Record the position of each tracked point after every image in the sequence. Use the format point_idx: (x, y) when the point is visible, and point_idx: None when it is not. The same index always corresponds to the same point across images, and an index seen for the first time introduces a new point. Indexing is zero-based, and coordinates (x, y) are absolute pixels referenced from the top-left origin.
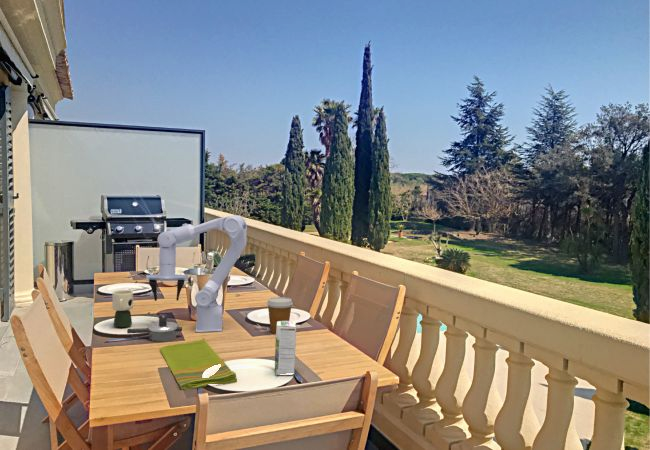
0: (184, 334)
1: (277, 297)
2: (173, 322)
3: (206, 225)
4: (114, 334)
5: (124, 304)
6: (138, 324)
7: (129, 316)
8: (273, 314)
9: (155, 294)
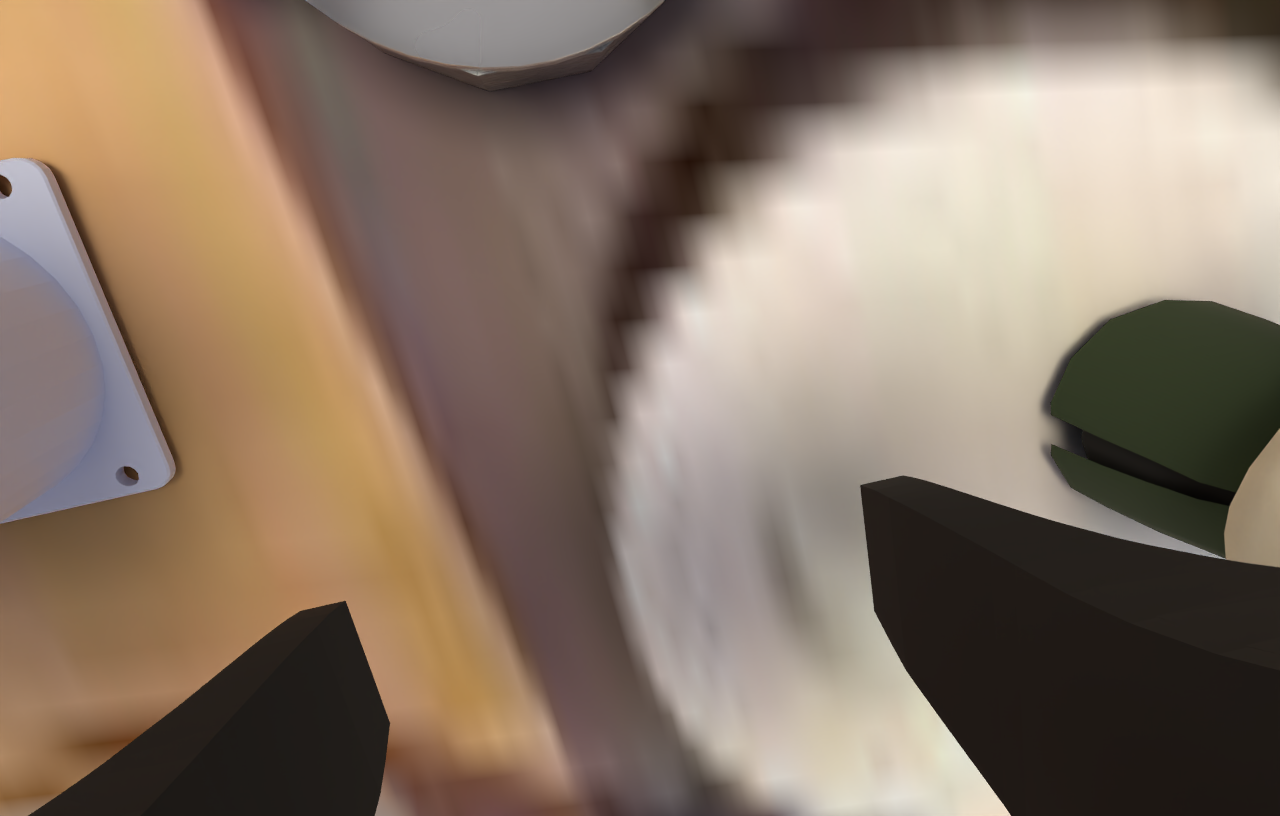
0: (198, 52)
1: None
2: (327, 11)
3: None
4: (1199, 23)
5: None
6: None
7: (1165, 425)
8: None
9: (977, 527)
